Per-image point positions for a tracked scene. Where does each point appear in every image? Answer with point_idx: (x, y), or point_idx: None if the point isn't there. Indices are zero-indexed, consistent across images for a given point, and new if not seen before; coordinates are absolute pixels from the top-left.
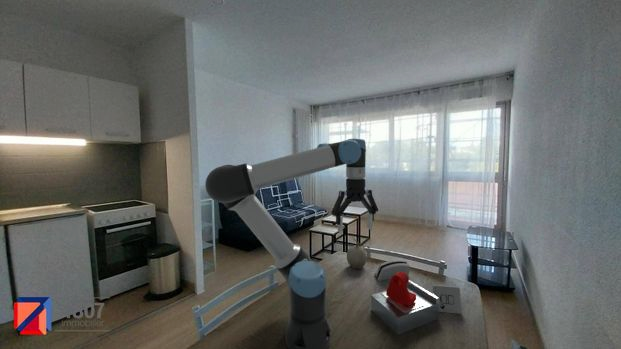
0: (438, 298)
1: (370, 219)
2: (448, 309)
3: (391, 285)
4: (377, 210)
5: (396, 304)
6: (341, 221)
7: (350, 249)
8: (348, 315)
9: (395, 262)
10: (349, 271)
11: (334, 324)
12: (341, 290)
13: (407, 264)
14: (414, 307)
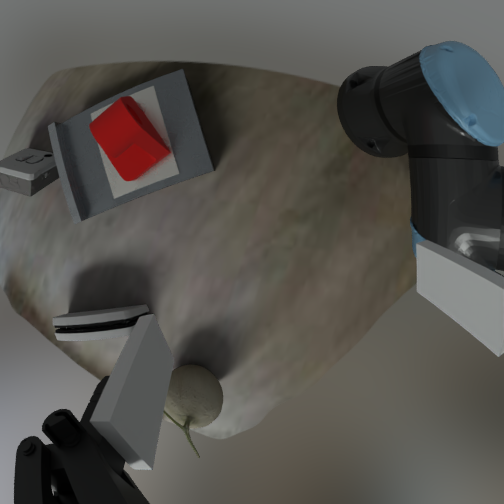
0: (49, 125)
1: (132, 380)
2: (41, 152)
3: (151, 134)
4: (25, 444)
5: (159, 115)
6: (489, 273)
7: (212, 414)
8: (282, 158)
9: (83, 330)
10: (220, 358)
11: (323, 134)
12: (270, 269)
13: (55, 322)
14: None
